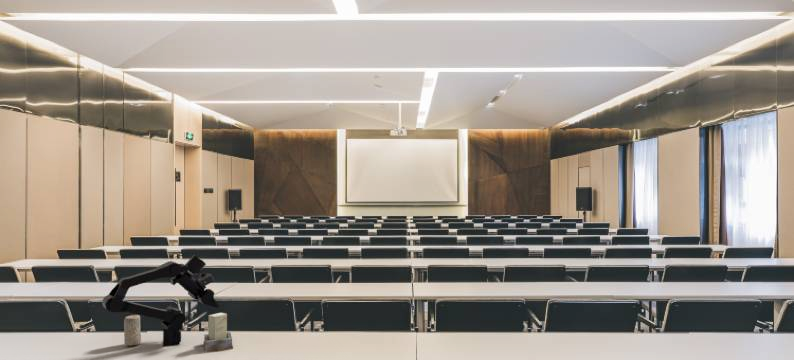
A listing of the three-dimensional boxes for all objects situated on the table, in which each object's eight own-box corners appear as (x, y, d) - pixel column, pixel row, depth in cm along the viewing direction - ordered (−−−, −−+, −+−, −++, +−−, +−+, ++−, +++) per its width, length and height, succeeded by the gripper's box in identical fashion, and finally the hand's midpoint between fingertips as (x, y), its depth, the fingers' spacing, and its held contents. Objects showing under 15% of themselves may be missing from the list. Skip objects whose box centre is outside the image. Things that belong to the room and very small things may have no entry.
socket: (204, 352, 207) (204, 342, 207) (203, 343, 217) (203, 334, 217) (232, 348, 211) (232, 338, 211) (230, 340, 221) (230, 331, 221)
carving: (139, 341, 221) (139, 313, 221) (142, 346, 214) (142, 317, 214) (123, 343, 217) (123, 315, 217) (125, 349, 211) (124, 319, 211)
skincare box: (214, 346, 211) (214, 317, 211) (207, 344, 213) (207, 315, 213) (227, 342, 216) (227, 313, 216) (220, 340, 218) (220, 312, 218)
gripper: (209, 271, 219) (235, 294, 225) (195, 265, 233) (219, 286, 240) (190, 292, 214) (216, 314, 221) (177, 285, 228) (202, 306, 235)
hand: (214, 304), depth 229 cm, fingers open, 9 cm apart
